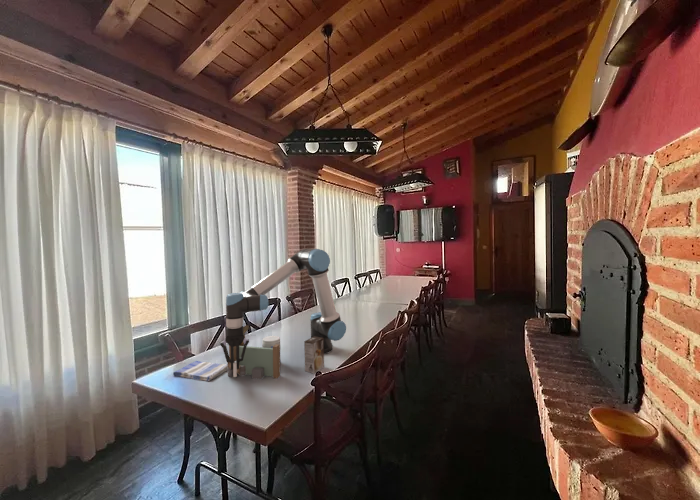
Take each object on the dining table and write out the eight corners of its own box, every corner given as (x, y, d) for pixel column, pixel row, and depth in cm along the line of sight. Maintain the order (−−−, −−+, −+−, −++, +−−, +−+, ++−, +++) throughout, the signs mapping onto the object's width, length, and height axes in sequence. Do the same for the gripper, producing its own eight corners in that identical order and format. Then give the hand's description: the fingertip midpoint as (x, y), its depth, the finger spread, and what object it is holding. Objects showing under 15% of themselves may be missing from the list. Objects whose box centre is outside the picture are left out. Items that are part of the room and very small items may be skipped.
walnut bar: (226, 366, 153) (226, 358, 153) (231, 364, 155) (231, 357, 155) (241, 376, 142) (241, 368, 142) (246, 374, 144) (246, 366, 144)
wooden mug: (241, 357, 177) (240, 326, 176) (226, 352, 185) (225, 323, 184) (253, 352, 185) (252, 323, 184) (239, 348, 192) (238, 319, 191)
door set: (280, 375, 154) (279, 344, 153) (274, 381, 147) (273, 349, 147) (233, 371, 159) (232, 341, 158) (226, 376, 152) (225, 345, 152)
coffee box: (314, 364, 166) (314, 335, 166) (324, 367, 163) (324, 337, 162) (304, 371, 158) (304, 340, 158) (314, 373, 155) (314, 343, 154)
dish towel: (209, 382, 148) (209, 377, 147) (171, 376, 154) (171, 371, 154) (233, 367, 164) (232, 362, 164) (197, 363, 171) (197, 358, 171)
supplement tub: (274, 369, 161) (274, 342, 160) (259, 367, 163) (258, 340, 163) (283, 362, 170) (283, 336, 169) (269, 360, 173) (268, 334, 172)
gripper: (249, 323, 148) (249, 370, 149) (221, 325, 144) (221, 374, 145) (249, 327, 141) (249, 377, 142) (219, 329, 137) (219, 381, 138)
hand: (235, 375), depth 143 cm, fingers closed
